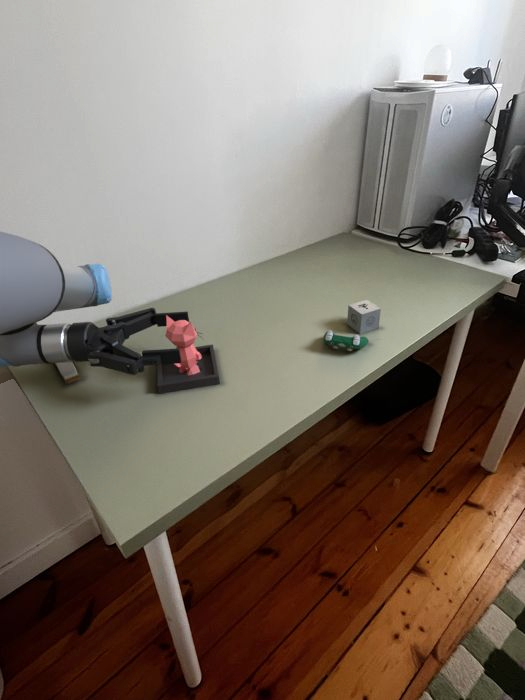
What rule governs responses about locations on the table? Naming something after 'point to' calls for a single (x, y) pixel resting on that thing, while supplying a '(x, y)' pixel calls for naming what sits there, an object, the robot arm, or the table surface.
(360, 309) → the dice cube
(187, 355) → the cat figurine
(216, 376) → the black tray
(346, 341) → the green elongated piece
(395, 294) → the table surface
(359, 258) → the table surface
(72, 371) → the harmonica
